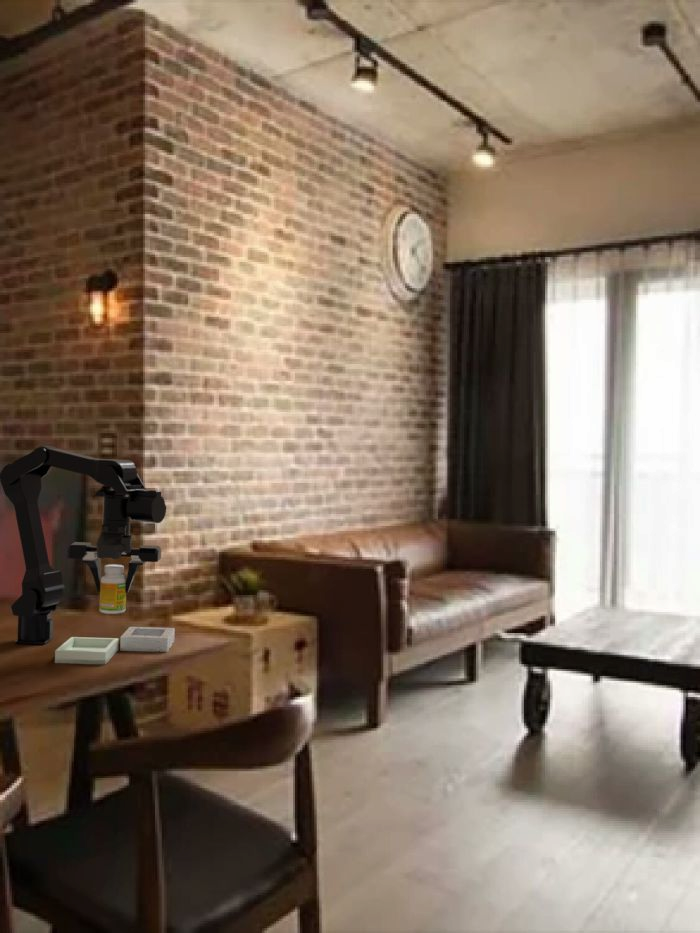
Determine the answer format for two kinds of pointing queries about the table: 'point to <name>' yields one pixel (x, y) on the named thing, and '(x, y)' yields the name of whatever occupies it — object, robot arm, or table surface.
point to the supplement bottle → (113, 590)
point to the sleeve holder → (147, 639)
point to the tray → (86, 650)
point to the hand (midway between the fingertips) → (113, 592)
